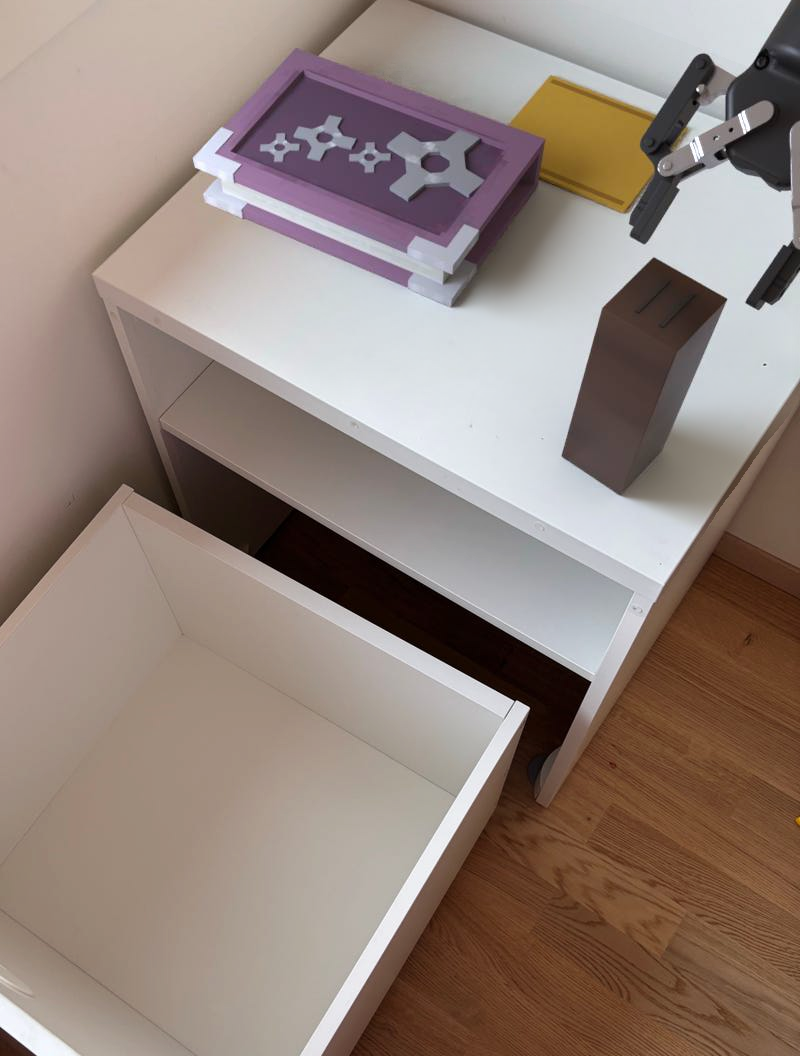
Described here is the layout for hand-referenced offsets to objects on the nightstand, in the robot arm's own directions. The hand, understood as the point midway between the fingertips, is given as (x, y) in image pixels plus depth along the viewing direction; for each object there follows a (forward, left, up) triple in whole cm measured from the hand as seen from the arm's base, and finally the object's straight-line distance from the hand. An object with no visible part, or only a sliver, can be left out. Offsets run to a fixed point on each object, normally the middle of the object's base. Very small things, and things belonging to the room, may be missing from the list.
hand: (693, 273), depth 63 cm
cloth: (+8, -30, -16) cm, 35 cm away
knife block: (+1, +3, -16) cm, 16 cm away
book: (+26, -20, -16) cm, 37 cm away
